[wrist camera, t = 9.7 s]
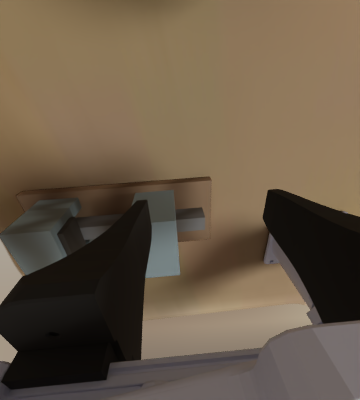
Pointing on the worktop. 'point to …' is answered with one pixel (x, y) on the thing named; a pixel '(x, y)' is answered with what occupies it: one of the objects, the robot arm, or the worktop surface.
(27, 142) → the worktop surface
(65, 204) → the rail base
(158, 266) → the block
